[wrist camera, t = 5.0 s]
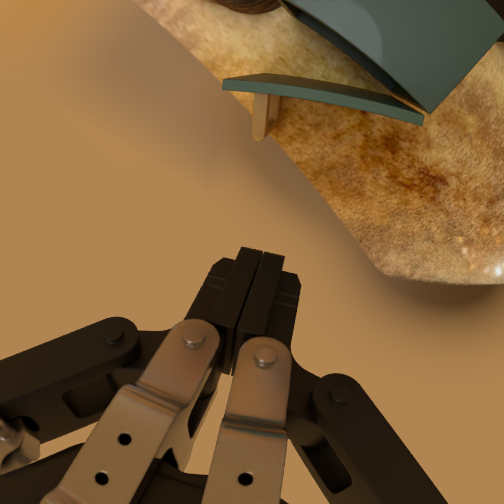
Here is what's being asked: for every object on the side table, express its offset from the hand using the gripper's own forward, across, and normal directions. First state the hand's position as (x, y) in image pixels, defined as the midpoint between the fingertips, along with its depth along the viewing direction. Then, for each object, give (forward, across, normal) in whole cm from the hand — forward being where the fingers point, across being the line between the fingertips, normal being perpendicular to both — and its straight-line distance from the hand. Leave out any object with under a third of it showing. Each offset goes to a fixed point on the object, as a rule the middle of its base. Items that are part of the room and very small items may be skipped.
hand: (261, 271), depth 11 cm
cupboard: (+26, +5, +13) cm, 29 cm away
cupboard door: (+26, +1, +2) cm, 26 cm away
